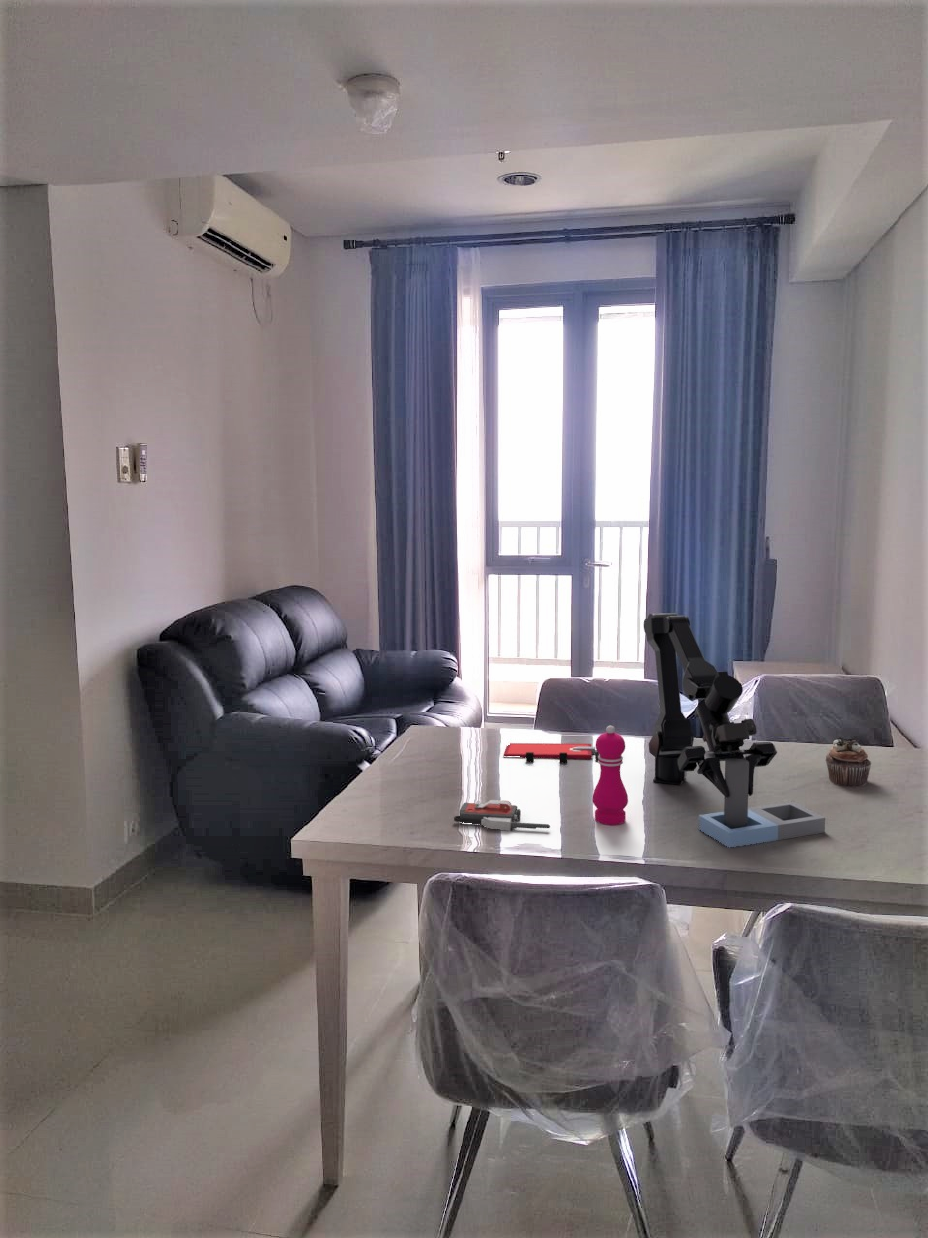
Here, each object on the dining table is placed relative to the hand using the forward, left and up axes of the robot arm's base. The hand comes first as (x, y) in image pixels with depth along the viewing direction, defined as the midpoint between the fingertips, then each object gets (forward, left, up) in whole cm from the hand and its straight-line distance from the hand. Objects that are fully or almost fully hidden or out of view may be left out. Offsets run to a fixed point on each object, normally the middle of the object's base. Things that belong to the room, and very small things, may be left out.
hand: (739, 795), depth 168 cm
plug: (-1, +1, -8) cm, 8 cm away
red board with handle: (-49, +41, -9) cm, 65 cm away
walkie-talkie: (-45, -10, -9) cm, 47 cm away
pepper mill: (-26, 0, -9) cm, 27 cm away
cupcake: (+18, +44, -9) cm, 49 cm away
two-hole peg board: (+4, +5, -8) cm, 11 cm away
